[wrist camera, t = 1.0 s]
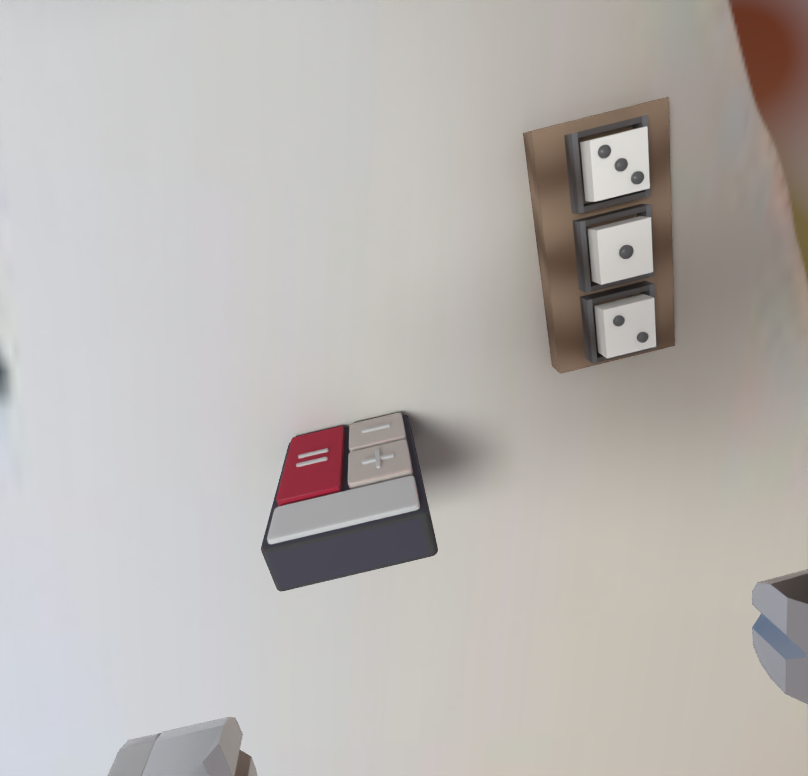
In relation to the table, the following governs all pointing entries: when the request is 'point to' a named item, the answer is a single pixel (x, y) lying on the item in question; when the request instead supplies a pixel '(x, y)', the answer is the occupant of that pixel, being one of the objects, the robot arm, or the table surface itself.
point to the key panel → (572, 217)
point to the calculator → (348, 504)
